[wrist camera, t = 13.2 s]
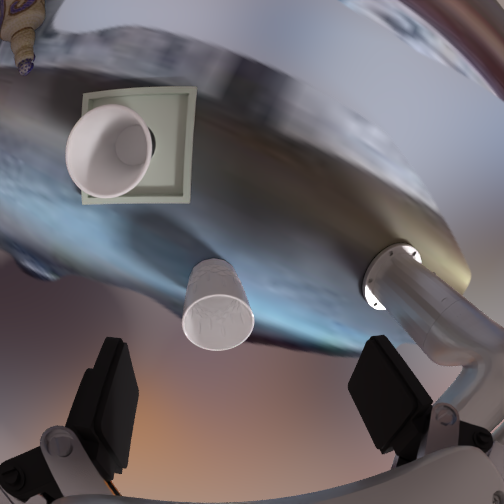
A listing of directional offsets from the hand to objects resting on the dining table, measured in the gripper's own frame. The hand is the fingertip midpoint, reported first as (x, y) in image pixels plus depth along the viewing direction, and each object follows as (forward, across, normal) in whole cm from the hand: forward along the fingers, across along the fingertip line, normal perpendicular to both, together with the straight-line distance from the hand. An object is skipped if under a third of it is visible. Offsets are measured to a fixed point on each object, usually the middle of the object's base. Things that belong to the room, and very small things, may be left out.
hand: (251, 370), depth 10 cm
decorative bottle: (+26, +32, -31) cm, 51 cm away
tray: (+26, +11, -7) cm, 29 cm away
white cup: (+27, +1, +11) cm, 29 cm away
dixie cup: (+26, +11, -7) cm, 29 cm away
